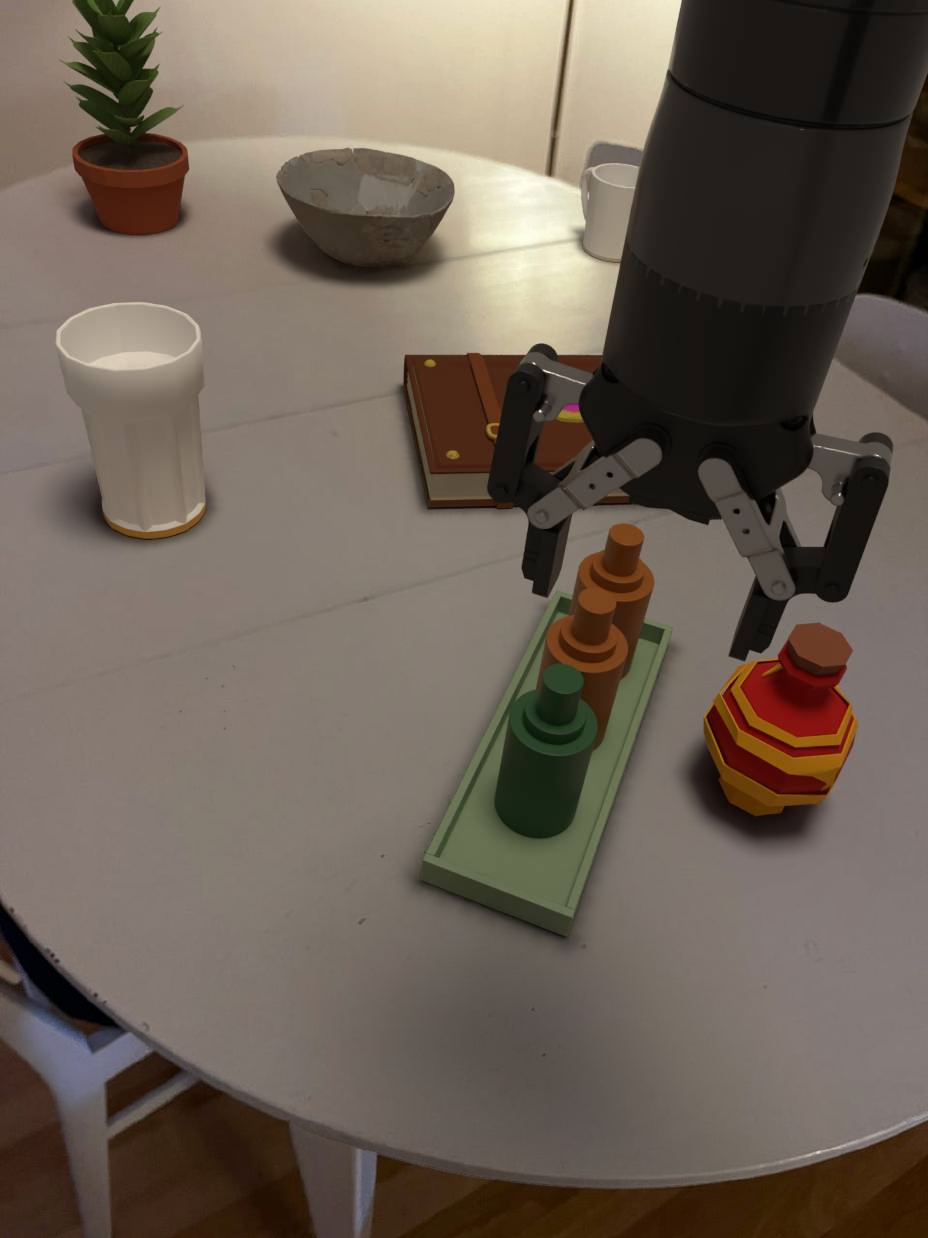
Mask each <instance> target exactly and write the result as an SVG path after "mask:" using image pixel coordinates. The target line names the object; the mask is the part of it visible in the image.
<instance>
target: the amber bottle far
mask: <svg viewBox="0 0 928 1238" xmlns="http://www.w3.org/2000/svg"><path fill="white" fill-rule="evenodd" d="M644 540H645V534H644V532H643V531H642V529H640V528H639V527H638V526H636V525H634V524H630V523H623V522H621V523H615V524H614V525H612V526H611V527H610V528H609V530H608V534H607V538H606V542H605V546H604V549H603V550H600V551H597V552H593V553H592V554H589V555H588V556H585V558H583V559H582V561H581V562H580V563H579V566H578V569H577V573H576V578H575V581H574V582H575V583H574V587H573V592H572V595H573V596H572V601H571V606H570V610H569V615H568V616H570V615H574V614H575V609H576V605H577V600H578V596H579V594H580V593H581V592H582V591H583V590H585V589H588V588H600V589H603V590H606V591H608V592H609V593H611V594H612V595H613V596H614V598H615V600H616V608H615V612H614V616H613V620H612V624H613V625H614V626H616V627H617V628H618V629H619V630H620V631H621V632H622V633H623V635H624V636H625V638H626V640H627V644H628V654H627V658H626V661H625V665H624V668H623V672H622V676H621V679H622V678H624V677H625V676H626V675H627V674H628V672H629V670H630V668H631V664H632V661H633V657H634V654H635V650H636V647H637V643H638V640H639V636H640V633H641V629H642V626H643V622H644V619H645V618H646V614H647V611H648V607H649V604H650V602H651V601H650V600H651V597H652V594H653V592H654V591H653V590H654V587H655V577H654V574H653V572H652V570H651V569H650V567H649V566H648V565H647V564H646V563H645V562H644V561H643V560H642V558H640V556H641V552H642V549H643V545H644ZM621 679H620V680H621Z"/></svg>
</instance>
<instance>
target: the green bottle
mask: <svg viewBox="0 0 928 1238" xmlns="http://www.w3.org/2000/svg"><path fill="white" fill-rule="evenodd" d="M583 684H584V679H583V676H582V674H581V673H580V672H579V671H578V670H577V669H576V668H574V667H573V666H570V665H567V664H553V665H550V666H549V667H547V668H546V669H545V670H544V672H543V674H542V679H541V684H540V689H536V690H532V691H529V692H527V693H525V694H523V695H522V696H520V697H519V698H518V699H517V700H516V701H515V702H514V703H513V705H512V707H511V709H510V713H509V718H508V724H507V730H506V735H505V741H504V747H503V752H502V758H501V764H500V769H499V775H498V781H497V786H496V792H495V798H494V803H495V808H496V811H497V814H498V816H499V817H500V819H501V820H502V821H503V823H504V824H505V825H506V826H507V827H509V828H510V829H511V830H513V831H514V832H516V833H518V834H521V835H523V836H526V837H531V838H549V837H552V836H555V835H558V834H560V833H562V832H563V831H564V830H566V829H567V828H568V827H569V826H570V825H571V823H572V822H573V820H574V817H575V814H576V810H577V806H578V803H579V799H580V795H581V792H582V788H583V784H584V780H585V777H586V773H587V769H588V766H589V762H590V758H591V755H592V751H593V747H594V744H595V740H596V736H597V732H598V722H597V718H596V716H595V714H594V712H593V710H592V709H591V708H590V706H589V705H588V704H587V703H586V702H585V701H583V700H582V699H581V698H580V696H581V692H582V688H583Z"/></svg>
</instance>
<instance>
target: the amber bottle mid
mask: <svg viewBox="0 0 928 1238" xmlns="http://www.w3.org/2000/svg"><path fill="white" fill-rule="evenodd" d="M615 608H616V600H615V598H614V596H613V595H612V594H611V593H609V592H608V591H606V590H603V589H600V588H588V589H585V590H583V591H582V592H581V593H580V594H579V596H578V600H577V605H576V609H575V614H574V615H570V616H566V617H563V618H561V619H559V620H557V621H556V622H554V623H553V624H552V625H551V626H550V628H549V630H548V632H547V635H546V640H545V645H544V650H543V655H542V660H541V665H540V670H539V675H538V680H537V685H536V689H540V684H541V679H542V674H543V672H544V670H545V669H546V668H547V667H549V666H550V665H553V664H567V665H570V666H573V667H574V668H576V669H577V670H578V671H579V672H580V673H581V674H582V676H583V679H584V684H583V688H582V692H581V696H580V698H581V699H582V700H583V701H585V702H586V703H587V704H588V705H589V706H590V708H591V709H592V710H593V712H594V714H595V716H596V718H597V722H598V732H597V736H596V740H595V744H594V747H593V750H595V749H596V748H597V747H598V746H599V745H600V744H601V743H602V741H603V739H604V736H605V733H606V729H607V726H608V722H609V719H610V715H611V711H612V708H613V704H614V701H615V697H616V694H617V690H618V686H619V683H620V679H621V676H622V672H623V668H624V665H625V661H626V658H627V654H628V644H627V640H626V638H625V636H624V635H623V633H622V632H621V631H620V630H619V629H618V628H617V627H616V626H614V625H613V624H612V620H613V616H614V612H615Z"/></svg>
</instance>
